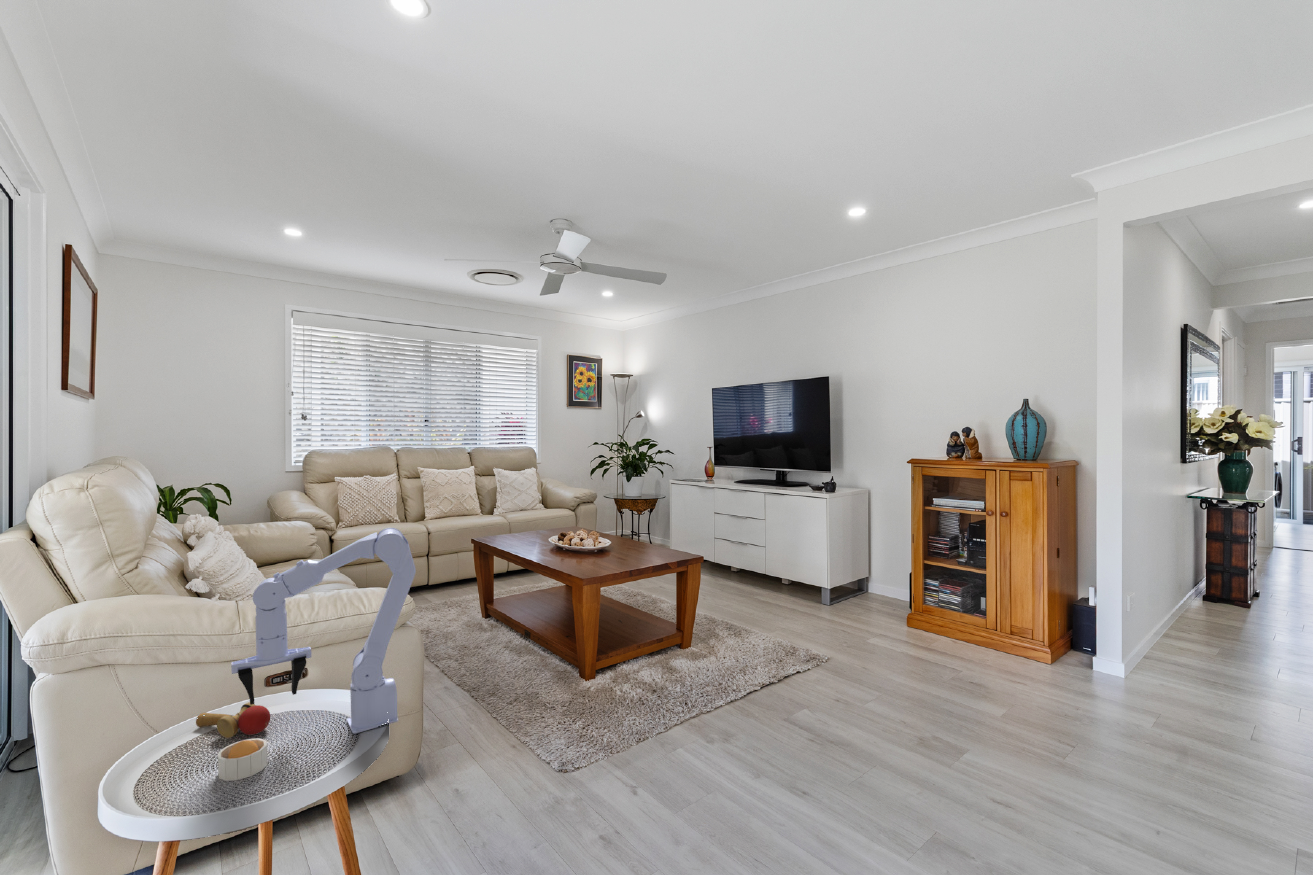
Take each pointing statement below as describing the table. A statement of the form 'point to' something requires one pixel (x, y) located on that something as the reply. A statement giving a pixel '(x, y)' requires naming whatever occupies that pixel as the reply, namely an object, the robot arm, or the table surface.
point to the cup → (242, 762)
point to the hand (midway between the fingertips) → (273, 697)
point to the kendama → (238, 720)
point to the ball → (242, 749)
